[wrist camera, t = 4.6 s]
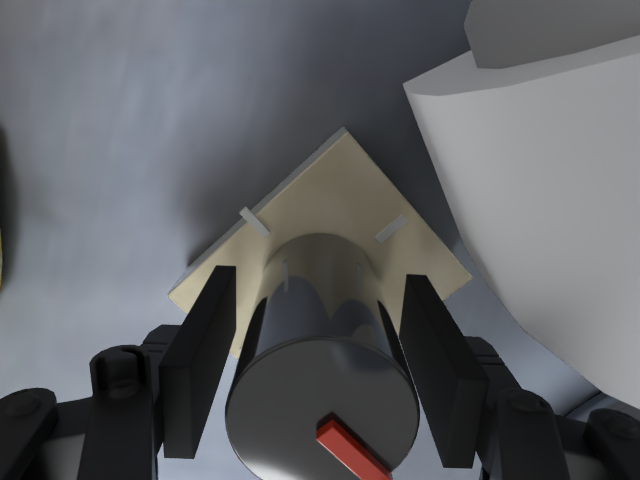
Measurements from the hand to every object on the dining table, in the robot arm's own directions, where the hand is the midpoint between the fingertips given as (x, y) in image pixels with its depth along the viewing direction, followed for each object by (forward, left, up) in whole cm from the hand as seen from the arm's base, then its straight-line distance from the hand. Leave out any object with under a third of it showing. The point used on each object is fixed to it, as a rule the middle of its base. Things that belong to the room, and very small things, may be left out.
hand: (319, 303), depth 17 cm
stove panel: (0, 0, -4) cm, 4 cm away
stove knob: (0, 0, -1) cm, 1 cm away
